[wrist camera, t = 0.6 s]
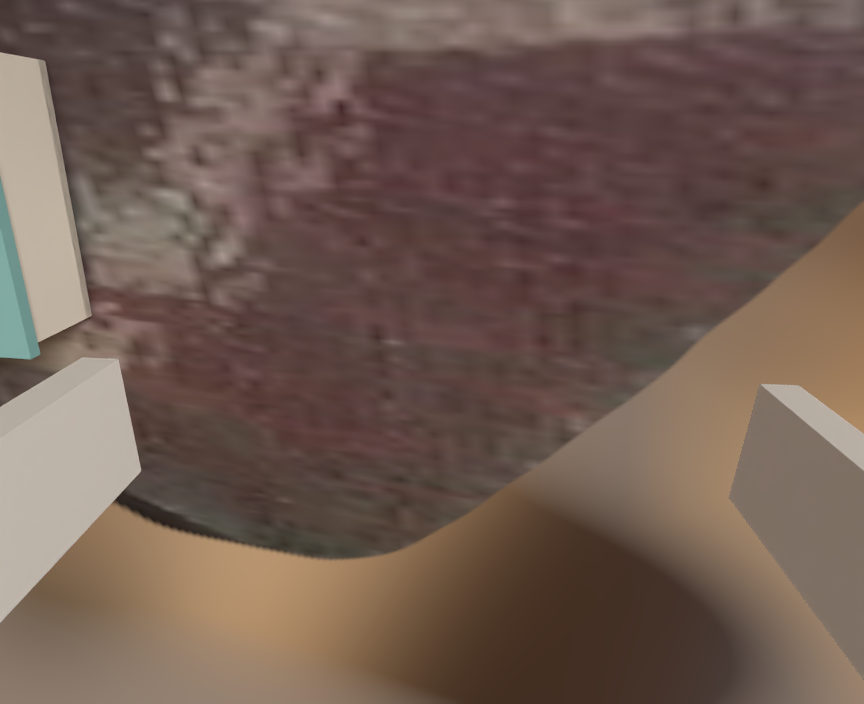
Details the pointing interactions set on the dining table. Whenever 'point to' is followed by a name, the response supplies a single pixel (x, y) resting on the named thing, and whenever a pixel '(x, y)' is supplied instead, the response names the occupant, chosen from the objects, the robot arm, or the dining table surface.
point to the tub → (39, 198)
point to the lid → (13, 296)
